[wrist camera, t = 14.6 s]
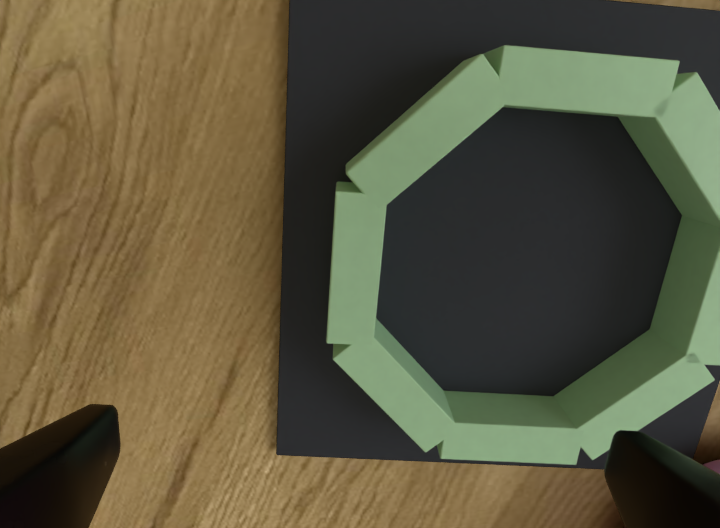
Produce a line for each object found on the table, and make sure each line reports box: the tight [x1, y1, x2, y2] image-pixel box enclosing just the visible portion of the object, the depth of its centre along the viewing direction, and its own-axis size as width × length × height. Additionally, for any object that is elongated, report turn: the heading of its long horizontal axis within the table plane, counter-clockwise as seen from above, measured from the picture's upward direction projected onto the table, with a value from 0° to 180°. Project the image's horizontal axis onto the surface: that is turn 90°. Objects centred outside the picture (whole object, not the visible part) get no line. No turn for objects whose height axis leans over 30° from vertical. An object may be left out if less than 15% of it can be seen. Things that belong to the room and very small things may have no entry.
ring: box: [326, 45, 720, 465], centre depth 19 cm, size 16×16×2 cm
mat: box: [276, 0, 720, 469], centre depth 20 cm, size 20×20×1 cm
